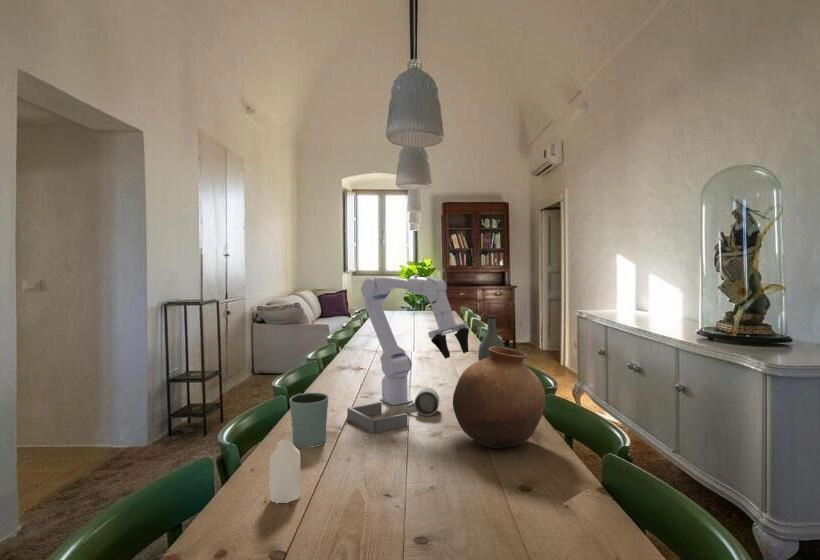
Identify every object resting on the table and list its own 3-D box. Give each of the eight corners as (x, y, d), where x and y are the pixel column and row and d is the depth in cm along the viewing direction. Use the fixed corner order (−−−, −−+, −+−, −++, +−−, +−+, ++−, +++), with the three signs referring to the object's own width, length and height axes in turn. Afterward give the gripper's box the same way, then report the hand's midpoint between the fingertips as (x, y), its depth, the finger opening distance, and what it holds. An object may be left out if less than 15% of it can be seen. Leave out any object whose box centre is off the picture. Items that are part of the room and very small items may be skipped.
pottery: (440, 436, 131) (439, 345, 131) (511, 425, 140) (510, 339, 140) (485, 467, 110) (484, 358, 110) (565, 451, 119) (564, 351, 119)
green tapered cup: (315, 433, 135) (314, 390, 135) (336, 442, 128) (336, 397, 128) (283, 442, 128) (282, 397, 128) (303, 452, 121) (302, 404, 121)
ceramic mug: (439, 408, 158) (439, 385, 157) (439, 416, 149) (438, 391, 149) (407, 409, 158) (406, 385, 158) (405, 416, 150) (404, 392, 150)
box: (347, 419, 147) (347, 407, 147) (380, 412, 154) (379, 401, 154) (373, 433, 134) (373, 421, 134) (407, 425, 141) (407, 413, 140)
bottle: (494, 411, 154) (493, 317, 153) (472, 405, 161) (471, 315, 160) (512, 405, 160) (511, 315, 160) (490, 400, 167) (490, 313, 166)
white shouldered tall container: (297, 432, 100) (302, 440, 95) (298, 489, 101) (303, 500, 95) (267, 436, 98) (271, 445, 93) (268, 494, 98) (272, 507, 93)
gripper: (431, 314, 147) (446, 357, 144) (467, 306, 155) (481, 347, 152) (420, 321, 152) (433, 362, 149) (455, 313, 160) (468, 352, 157)
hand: (457, 355), depth 151 cm, fingers open, 7 cm apart
